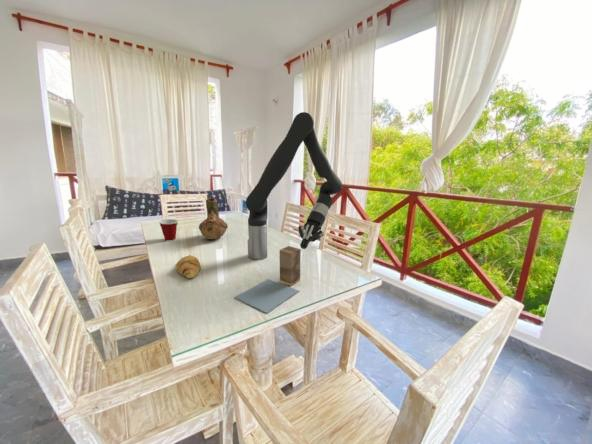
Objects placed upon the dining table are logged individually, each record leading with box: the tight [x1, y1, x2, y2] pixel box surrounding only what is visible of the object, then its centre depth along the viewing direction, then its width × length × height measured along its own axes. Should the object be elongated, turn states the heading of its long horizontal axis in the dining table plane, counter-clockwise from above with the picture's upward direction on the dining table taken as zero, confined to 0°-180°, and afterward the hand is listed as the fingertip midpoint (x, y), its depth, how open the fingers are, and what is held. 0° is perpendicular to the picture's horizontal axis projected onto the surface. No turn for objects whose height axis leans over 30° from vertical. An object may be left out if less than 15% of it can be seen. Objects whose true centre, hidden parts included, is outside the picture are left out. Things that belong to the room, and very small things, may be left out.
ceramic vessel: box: [198, 197, 228, 240], centre depth 157 cm, size 17×26×25 cm, turn 16°
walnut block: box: [279, 245, 302, 287], centre depth 104 cm, size 6×6×14 cm
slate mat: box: [234, 278, 300, 314], centre depth 95 cm, size 18×16×1 cm
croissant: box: [174, 254, 201, 279], centre depth 114 cm, size 21×10×8 cm, turn 28°
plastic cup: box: [158, 218, 179, 241], centre depth 156 cm, size 11×11×12 cm
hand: (302, 248), depth 109 cm, fingers closed
